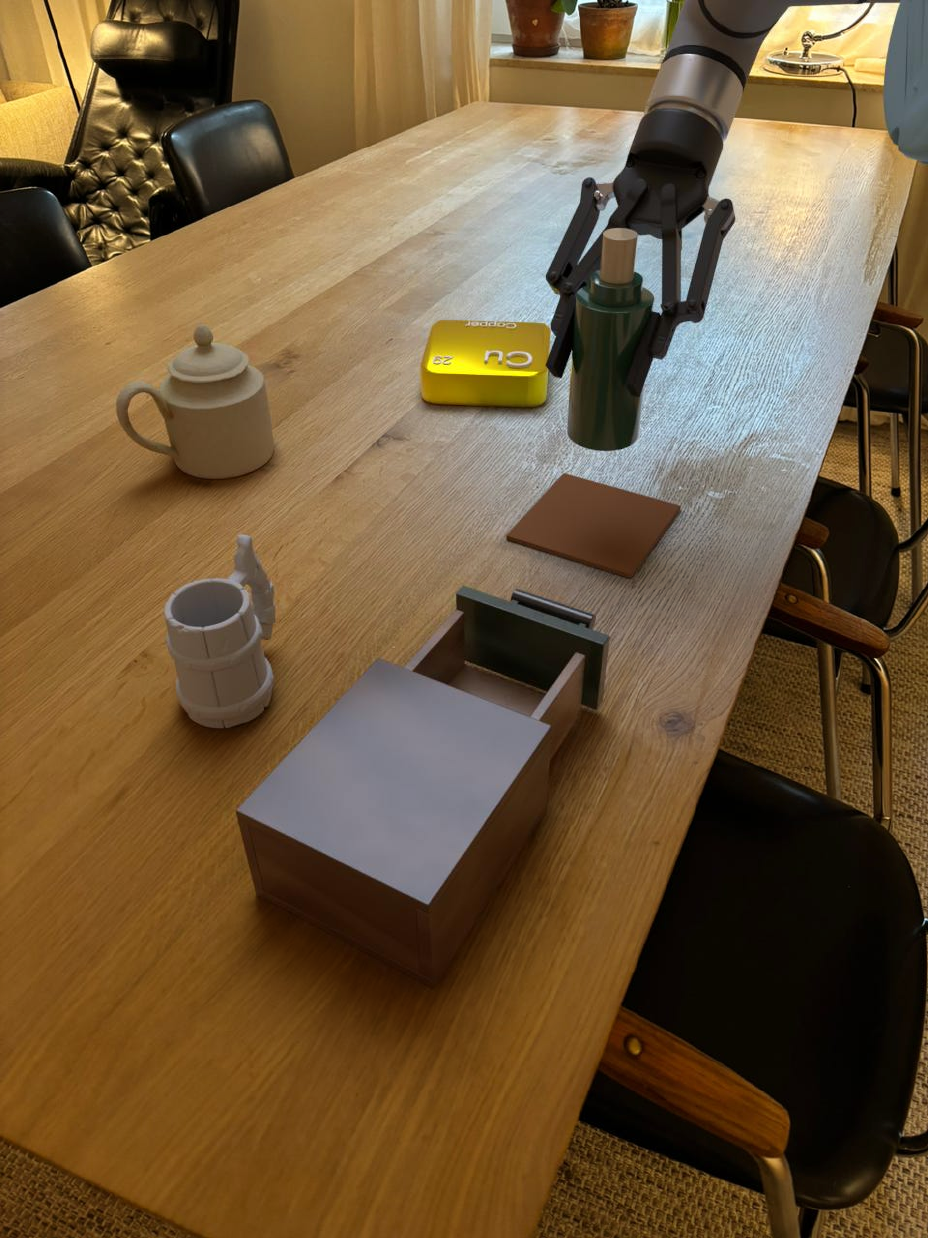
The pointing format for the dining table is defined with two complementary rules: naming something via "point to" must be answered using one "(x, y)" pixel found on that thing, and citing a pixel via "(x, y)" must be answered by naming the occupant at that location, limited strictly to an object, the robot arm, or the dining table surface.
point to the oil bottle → (608, 348)
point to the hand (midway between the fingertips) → (592, 380)
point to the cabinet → (398, 816)
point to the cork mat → (595, 524)
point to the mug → (223, 643)
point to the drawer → (520, 656)
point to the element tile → (486, 363)
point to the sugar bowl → (208, 411)
